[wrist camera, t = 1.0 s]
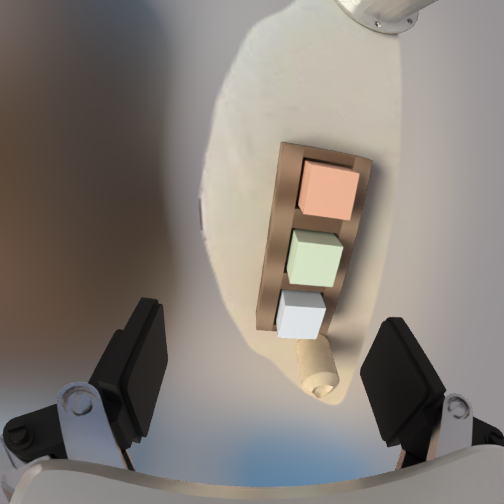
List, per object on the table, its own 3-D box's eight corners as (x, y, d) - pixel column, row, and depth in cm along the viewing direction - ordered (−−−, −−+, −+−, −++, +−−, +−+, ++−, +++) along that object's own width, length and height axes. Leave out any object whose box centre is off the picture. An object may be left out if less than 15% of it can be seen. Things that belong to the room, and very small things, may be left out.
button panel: (280, 142, 31) (284, 143, 28) (359, 156, 32) (372, 160, 28) (256, 312, 41) (256, 329, 38) (321, 317, 42) (326, 333, 38)
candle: (320, 358, 46) (331, 403, 36) (291, 354, 45) (297, 401, 36) (333, 335, 43) (348, 380, 34) (301, 330, 43) (311, 378, 34)
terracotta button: (303, 159, 30) (311, 164, 26) (345, 167, 30) (359, 173, 26) (296, 202, 32) (303, 213, 28) (337, 208, 32) (349, 220, 28)
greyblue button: (281, 285, 36) (285, 305, 32) (318, 288, 37) (326, 308, 32) (275, 316, 38) (278, 337, 34) (310, 318, 39) (316, 339, 35)
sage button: (292, 226, 33) (298, 241, 29) (332, 231, 33) (343, 247, 29) (285, 264, 35) (289, 283, 31) (323, 268, 35) (332, 287, 31)
